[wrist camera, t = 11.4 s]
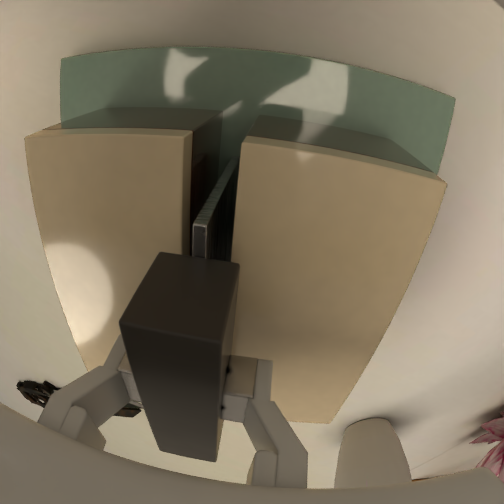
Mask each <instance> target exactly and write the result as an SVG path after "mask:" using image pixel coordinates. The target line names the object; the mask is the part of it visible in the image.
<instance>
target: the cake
mask: <svg viewBox="0 0 504 504" xmlns="http://www.w3.org/2000/svg"><path fill="white" fill-rule="evenodd" d="M455 101H456V99H455V98H454V97H451V96H449V95H446V94H444V93H441V92H438V91H436V90H433V89H430V88H427V87H425V86H422V85H419V84H416V83H413V82H410V81H407V80H404V79H401V78H397V77H394V76H391V75H387V74H384V73H380V72H376V71H373V70H369V69H365V68H361V67H357V66H353V65H348V64H344V63H339V62H335V61H330V60H325V59H319V58H314V57H308V56H302V55H295V54H289V53H281V52H273V51H264V50H254V49H242V48H226V47H151V48H136V49H124V50H115V51H106V52H98V53H91V54H84V55H78V56H73V57H67V58H62V59H61V67H60V112H61V123H58V124H56V125H53V126H50V127H48V128H45V129H43V130H40V131H38V132H36V133H33V134H31V135H28V136H26V137H25V138H24V140H25V150H26V158H27V166H28V173H29V180H30V186H31V192H32V197H33V203H34V208H35V213H36V218H37V222H38V227H39V231H40V235H41V239H42V243H43V247H44V251H45V255H46V259H47V262H48V266H49V269H50V273H51V276H52V279H53V282H54V286H55V289H56V292H57V295H58V298H59V301H60V304H61V306H62V309H63V312H64V315H65V318H66V320H67V323H68V326H69V328H70V331H71V333H72V336H73V338H74V341H75V343H76V346H77V348H78V350H79V353H80V355H81V357H82V360H83V362H84V364H85V366H86V368H87V371H88V372H89V371H91V370H93V369H94V368H96V367H98V366H99V365H100V366H103V365H104V363H105V361H106V359H107V357H108V355H109V353H110V351H111V349H112V347H113V345H114V343H115V341H116V340H117V338H118V336H119V335H120V334H121V332H120V328H119V320H120V318H121V316H122V314H123V312H124V311H125V309H126V307H127V305H128V304H129V302H130V300H131V298H132V297H133V295H134V293H135V292H136V290H137V288H138V286H139V285H140V283H141V281H142V280H143V278H144V276H145V275H146V273H147V271H148V270H149V268H150V266H151V265H152V263H153V261H154V260H155V258H156V256H157V255H158V253H159V252H167V253H174V254H180V255H187V256H192V246H193V223H194V221H195V220H196V218H197V216H198V214H199V213H200V211H201V209H202V207H203V205H204V204H205V202H206V200H207V199H208V197H209V195H210V193H211V192H212V190H213V188H214V186H215V185H216V183H217V181H218V180H219V178H220V176H221V175H222V173H223V171H224V170H225V168H226V166H227V165H228V163H229V161H230V160H231V158H232V156H239V157H240V163H239V173H238V183H237V194H236V205H235V216H234V227H233V238H232V250H231V262H234V263H239V264H240V273H239V283H238V292H237V302H236V312H235V322H234V332H233V342H232V352H231V355H236V356H244V357H252V358H257V359H264V360H272V362H273V370H272V384H271V397H270V401H275V403H276V405H277V406H278V408H279V409H280V411H281V412H282V414H283V416H284V417H285V419H286V420H287V421H292V422H306V423H325V424H330V423H331V421H332V420H333V418H334V417H335V415H336V414H337V412H338V411H339V409H340V408H341V406H342V405H343V403H344V402H345V400H346V399H347V397H348V395H349V394H350V392H351V391H352V389H353V388H354V386H355V384H356V383H357V381H358V379H359V378H360V376H361V374H362V373H363V371H364V369H365V368H366V366H367V364H368V363H369V361H370V359H371V357H372V356H373V354H374V352H375V350H376V348H377V347H378V345H379V343H380V341H381V339H382V338H383V336H384V334H385V332H386V330H387V328H388V326H389V324H390V322H391V320H392V318H393V316H394V314H395V312H396V310H397V308H398V306H399V304H400V302H401V300H402V298H403V296H404V294H405V292H406V290H407V287H408V285H409V283H410V281H411V279H412V276H413V274H414V272H415V270H416V267H417V265H418V263H419V260H420V258H421V255H422V253H423V251H424V248H425V246H426V243H427V241H428V238H429V235H430V233H431V230H432V228H433V225H434V222H435V220H436V217H437V214H438V211H439V208H440V205H441V202H442V200H443V197H444V194H445V190H446V187H447V183H446V182H445V181H444V180H442V179H441V178H440V177H439V176H438V175H437V174H438V170H439V167H440V163H441V160H442V156H443V152H444V149H445V145H446V141H447V137H448V133H449V128H450V124H451V120H452V115H453V110H454V106H455Z"/></svg>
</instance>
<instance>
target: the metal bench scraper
mask: <svg viewBox="0 0 504 504" xmlns="http://www.w3.org/2000/svg"><path fill="white" fill-rule="evenodd" d="M239 163H240V157H239V156H232V158H231V160H230V161H229V163H228V165H227V166H226V168H225V170H224V171H223V173H222V175H221V176H220V178H219V180H218V181H217V183H216V185H215V186H214V188H213V190H212V192H211V193H210V195H209V197H208V199H207V200H206V202H205V204H204V205H203V207H202V209H201V211H200V213H199V214H198V216H197V218H196V220H195V221H194V223H193V246H192V256H187V255H180V254H174V253H167V252H159V253H158V255H157V256H156V258H155V260H154V261H153V263H152V265H151V266H150V268H149V270H148V271H147V273H146V275H145V276H144V278H143V280H142V281H141V283H140V285H139V286H138V288H137V290H136V292H135V293H134V295H133V297H132V298H131V300H130V302H129V304H128V305H127V307H126V309H125V311H124V312H123V314H122V316H121V318H120V320H119V328H120V332H121V335H122V339H123V343H124V347H125V350H126V354H127V357H128V361H129V364H130V367H131V371H132V374H133V377H134V380H135V384H136V387H137V390H138V393H139V396H140V399H141V402H142V405H143V407H144V410H145V413H146V416H147V419H148V421H149V424H150V427H151V429H152V432H153V435H154V437H155V440H156V442H157V445H158V447H159V450H160V451H163V452H167V453H171V454H176V455H180V456H185V457H189V458H194V459H199V460H205V461H210V462H216V461H217V455H218V450H219V444H220V439H221V433H222V427H223V422H224V419H220V417H221V407H222V405H221V402H222V391H223V386H224V381H225V376H226V374H227V365H228V360H229V356H230V355H231V352H232V342H233V332H234V322H235V312H236V302H237V292H238V283H239V273H240V264H239V263H234V262H231V250H232V238H233V227H234V216H235V205H236V194H237V183H238V173H239Z"/></svg>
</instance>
